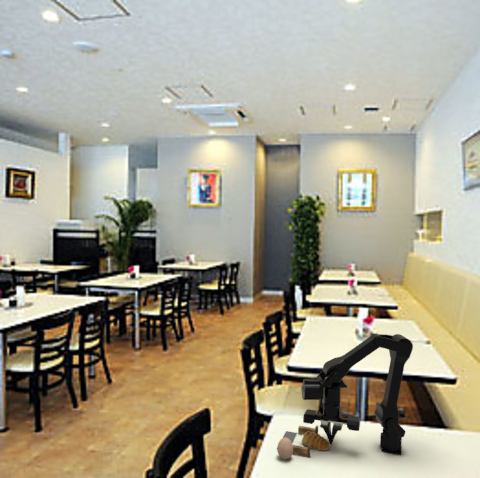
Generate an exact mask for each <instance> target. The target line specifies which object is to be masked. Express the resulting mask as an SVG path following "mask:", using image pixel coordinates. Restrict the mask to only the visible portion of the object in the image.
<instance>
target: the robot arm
mask: <svg viewBox="0 0 480 478" xmlns="http://www.w3.org/2000/svg"><path fill="white" fill-rule="evenodd" d="M379 348H380V349H381V348H382V349H385V350H388V351H389V357H390V360H389V361H390V362H389V367H388V373H387V378H386V384H385V389H384V394H383V395H384V396H383V399H382V400H381V402H376V404H375V411H374V412H373V413H374V415H375V419H376V421H377V422H378V423H379V424H380V426H381V427H382V432H381V433H380V442H379V443H380V444H379V446H380V448H381V452H382V453H383V452H384V453H388V452H391V453H390V454H394V453H397V454H396V455H399V454H401V453H402V441H403V439H402V438H404V437H405V435H406V430H405V429H404V428H403V427H402V426H401V425H400V414H399V413H400V412H399V407H398V402H399V401H398V400H399V396H400V392H401V391H400V390H401V385H402V380H403V375H404V369H405V364H406V363H407V361H408V360H409V359H410V358H411V355H412V351H413V348H414V344H413V343H412V341H411V340H410V339H408V338H407V337H405V336H403V334H400V333H398V334H397V333H396V334H393V335H391V334H379V333H376V332H375V333H372V334H371V335H370V336H369V337H368V338H366V339H365V340H363V341H362V342H360V343H359V344H358V345H356V346H355V347H353V348H351V349H350V350H349V351H348V352H346V353H345V354H343V355H341V356H337V357H334V358H332V359H330V360H327V361H326V362H325V363H323V365H322V370H321V371H320V372H319V374H318V375H317V376H316V379H313V378H312V379H311V378H310V379H308V378H303V379H302V381H303V382H302V384H301V389H300V390H301V398H302V400H303V401H320V400H321V406H320V408H321V409H322V410H323V411H322V412H323V414H319V413H318V411H317V410H315V409H308V408H307V409H306V410H305V411H304V414H303V416H302V422H303V423H304V424H310V425H312V424H314V423H315V421H320V425H319V427H320V428H321V429H322V430H323V432H324V433H325V435H326V438H327V441H328V442H329V444H330V446H332V445H333V442H334V440H335V437H336V435H337V433H338V432H339V431H340V432H341V431H342V429H343V425H346V428H347V429H348V430H349V431H356V432H359V431H360V428H361V417H360V416H355V415H350V414H348V416H347V418H345V417H341V416H342V403H341V402H342V400H341V399H342V398H341V396H342V388H344V389H347V388H348V385H347V384H346V383H345V382H344V380H343V379H344V377H346V375H347V374H348V373H349V371H350V370H351V369H352V368H353V367H354V366H356V364H358V363H359V362H360V361H362V360H364V359H365V358H367V357H368V356H370V355H371V354H372V353H373V352H374V351H377V350H379ZM332 423H333V425H332ZM331 426H332V427H331ZM401 455H402V454H401Z"/></svg>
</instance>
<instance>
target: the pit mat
mask: <svg viewBox="0 0 480 478" xmlns="http://www.w3.org/2000/svg"><path fill="white" fill-rule="evenodd" d="M296 434H297V435H298V432H293V431H288V430H287V431H285V433H284V434H283V436H282V438H288V439H290V441H291V442H292V444H293V443H294V441H295V438H296V436H297V435H296Z"/></svg>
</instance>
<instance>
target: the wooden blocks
mask: <svg viewBox="0 0 480 478" xmlns="http://www.w3.org/2000/svg"><path fill="white" fill-rule="evenodd" d="M297 429H298V432H297V435H301V434H303V436H304V434H305V433H306V432H307V431H310V432H311V433H313V432H315V433H316V434H319V425H315V427H310V426H309V427H308V426H303V425H299V426H298V428H297ZM292 445H293V453H292V455H294V456H299V457H303V458H310V457H311V451H312V450H311V449H312V448H311V445H309V444H308V446H301V445H297V444H296V445H295V444H292Z"/></svg>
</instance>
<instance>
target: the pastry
mask: <svg viewBox="0 0 480 478" xmlns="http://www.w3.org/2000/svg"><path fill="white" fill-rule="evenodd" d="M301 442H302V444H303V445H304V447H308V444H309V445H311V449H314V450H318V451H326V450H328V449H329V447H330V446H331V445H330V443H329V440H328V439H326V438H325V437H324V436H321V434H319V433H318V434H316V433H315V432H313V433H311V432H310V431H307V432H306V433H305V434H304V435H303V436H302V440H301Z"/></svg>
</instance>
